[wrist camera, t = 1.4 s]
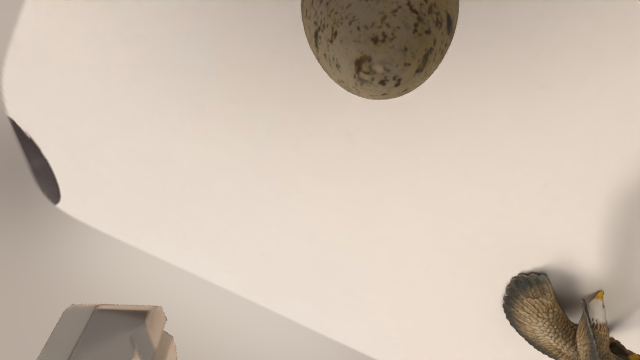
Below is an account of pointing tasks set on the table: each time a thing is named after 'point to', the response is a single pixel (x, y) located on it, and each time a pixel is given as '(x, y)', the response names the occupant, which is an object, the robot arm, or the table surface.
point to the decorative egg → (379, 42)
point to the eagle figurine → (560, 323)
